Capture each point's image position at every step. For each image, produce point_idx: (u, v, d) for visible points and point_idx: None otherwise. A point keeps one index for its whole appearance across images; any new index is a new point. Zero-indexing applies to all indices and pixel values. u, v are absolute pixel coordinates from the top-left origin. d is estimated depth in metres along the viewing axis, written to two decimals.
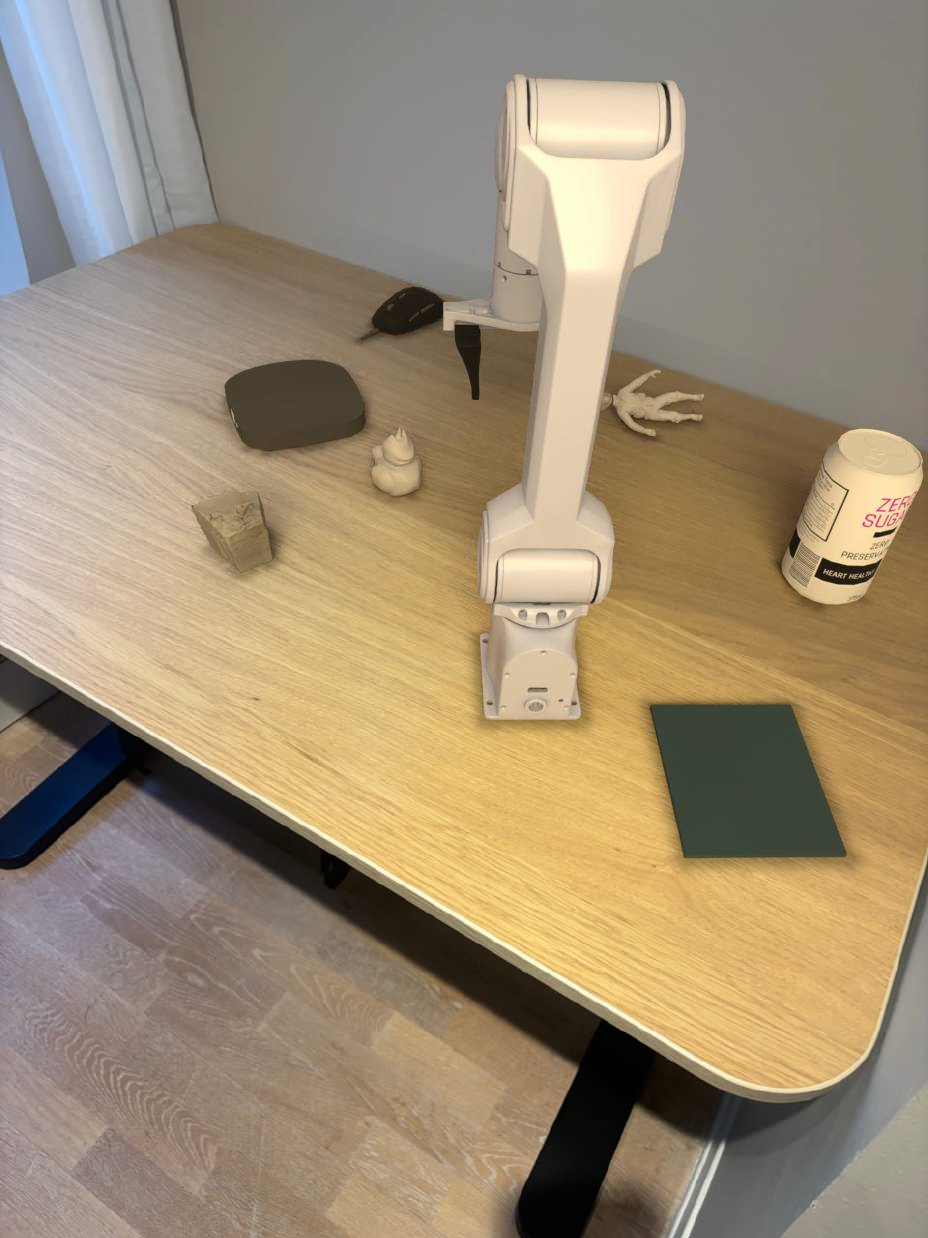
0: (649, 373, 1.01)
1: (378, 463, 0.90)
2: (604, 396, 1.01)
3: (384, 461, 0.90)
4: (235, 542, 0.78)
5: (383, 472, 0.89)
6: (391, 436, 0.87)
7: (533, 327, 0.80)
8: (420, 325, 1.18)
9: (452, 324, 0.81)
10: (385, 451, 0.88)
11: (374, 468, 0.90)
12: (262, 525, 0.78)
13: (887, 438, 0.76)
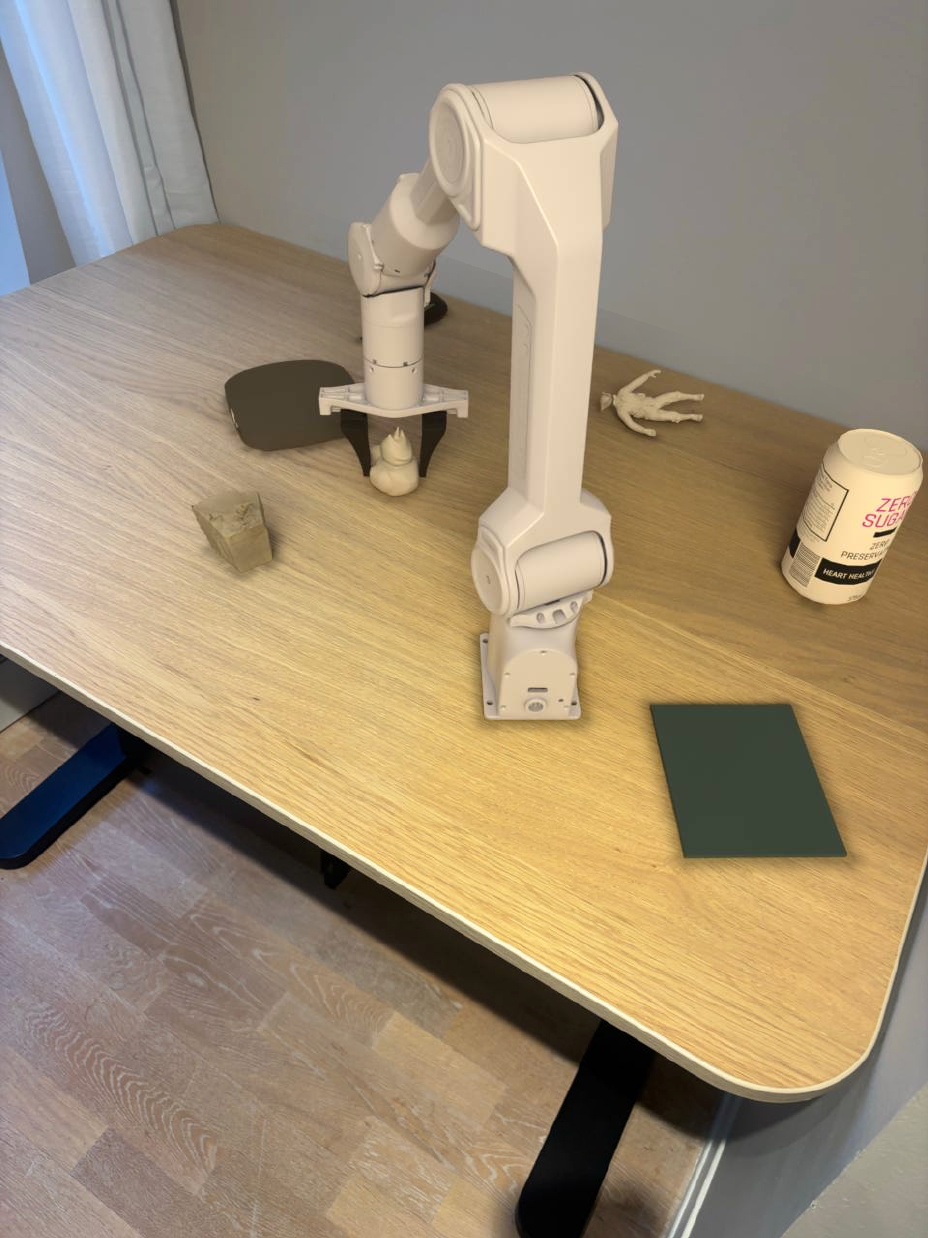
0: (649, 373, 1.01)
1: (376, 463, 0.90)
2: (604, 396, 1.01)
3: (382, 461, 0.90)
4: (235, 542, 0.78)
5: (381, 472, 0.89)
6: (389, 436, 0.87)
7: (403, 413, 0.83)
8: None
9: (328, 409, 0.85)
10: (383, 451, 0.88)
11: (372, 468, 0.90)
12: (262, 525, 0.78)
13: (887, 438, 0.76)
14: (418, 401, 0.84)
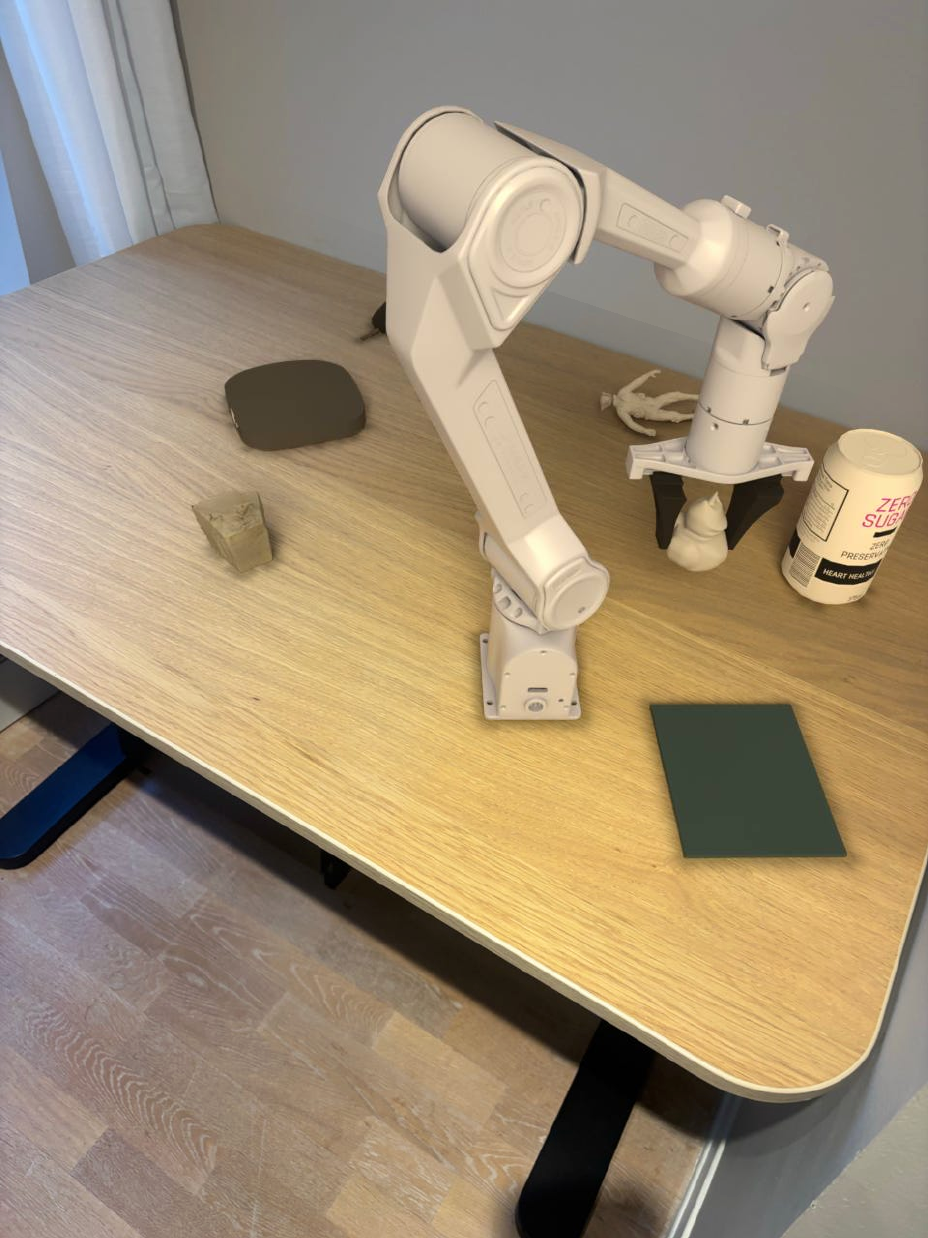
0: (649, 373, 1.01)
1: (677, 533, 0.74)
2: (604, 396, 1.01)
3: (685, 530, 0.74)
4: (235, 542, 0.78)
5: (687, 545, 0.73)
6: (705, 502, 0.71)
7: (741, 479, 0.67)
8: None
9: (641, 472, 0.69)
10: (694, 520, 0.72)
11: (673, 539, 0.74)
12: (262, 525, 0.78)
13: (887, 438, 0.76)
14: (757, 463, 0.68)
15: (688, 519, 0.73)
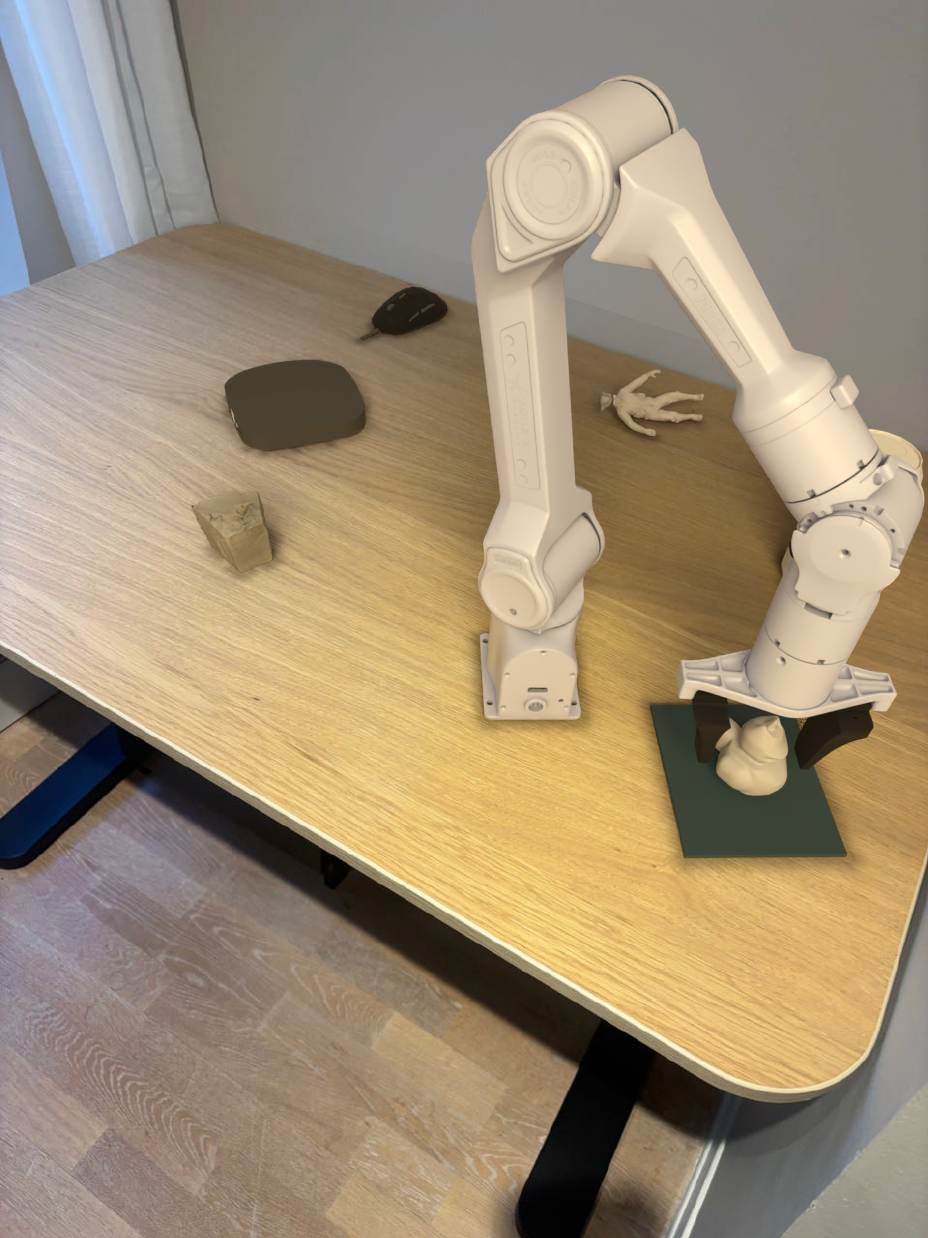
0: (649, 373, 1.01)
1: (730, 752, 0.65)
2: (604, 396, 1.01)
3: (739, 750, 0.65)
4: (235, 542, 0.78)
5: (740, 769, 0.64)
6: (763, 728, 0.63)
7: (809, 714, 0.58)
8: (420, 325, 1.18)
9: (692, 693, 0.60)
10: (749, 744, 0.64)
11: (725, 760, 0.65)
12: (262, 525, 0.78)
13: (887, 438, 0.76)
14: (829, 694, 0.59)
15: (743, 741, 0.64)
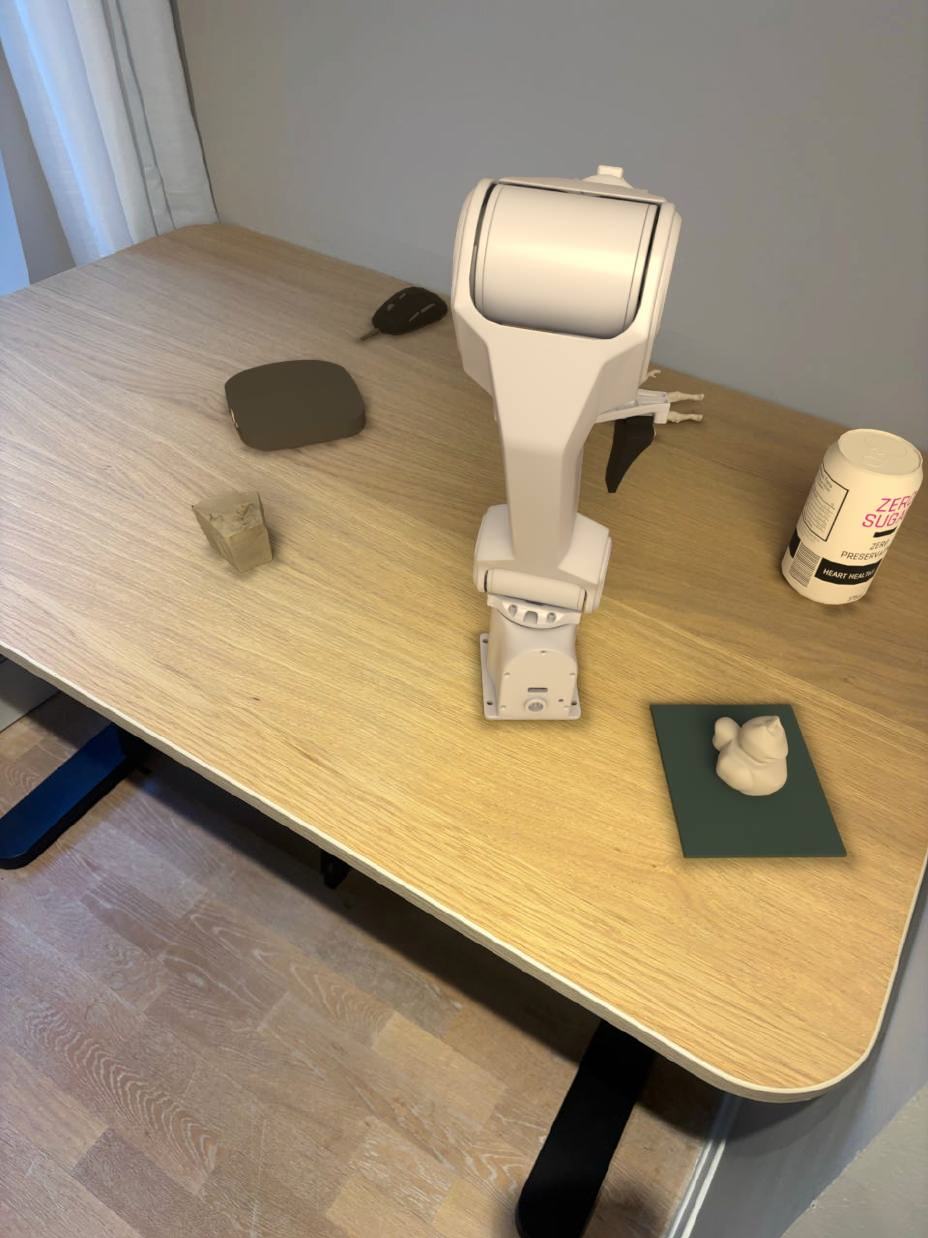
0: (649, 373, 1.01)
1: (730, 752, 0.65)
2: None
3: (739, 750, 0.65)
4: (235, 542, 0.78)
5: (740, 769, 0.64)
6: (763, 728, 0.63)
7: (597, 419, 0.70)
8: (420, 325, 1.18)
9: None
10: (749, 744, 0.64)
11: (725, 760, 0.65)
12: (262, 525, 0.78)
13: (887, 438, 0.76)
14: None
15: (743, 741, 0.64)
